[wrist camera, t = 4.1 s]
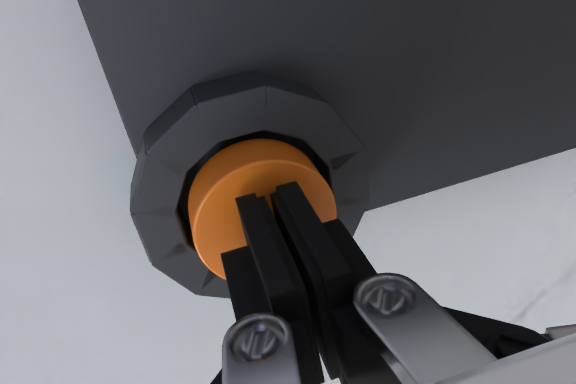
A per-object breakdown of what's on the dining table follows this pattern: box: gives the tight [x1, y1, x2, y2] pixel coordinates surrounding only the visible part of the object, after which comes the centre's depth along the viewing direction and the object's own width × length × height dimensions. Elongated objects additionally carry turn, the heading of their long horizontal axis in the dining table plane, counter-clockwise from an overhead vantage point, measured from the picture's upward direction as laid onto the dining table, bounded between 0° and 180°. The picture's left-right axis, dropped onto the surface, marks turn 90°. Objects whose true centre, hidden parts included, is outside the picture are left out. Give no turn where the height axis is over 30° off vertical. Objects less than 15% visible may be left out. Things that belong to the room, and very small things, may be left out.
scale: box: [78, 0, 576, 298], centre depth 14 cm, size 16×15×3 cm
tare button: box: [188, 139, 337, 280], centre depth 14 cm, size 4×4×2 cm
